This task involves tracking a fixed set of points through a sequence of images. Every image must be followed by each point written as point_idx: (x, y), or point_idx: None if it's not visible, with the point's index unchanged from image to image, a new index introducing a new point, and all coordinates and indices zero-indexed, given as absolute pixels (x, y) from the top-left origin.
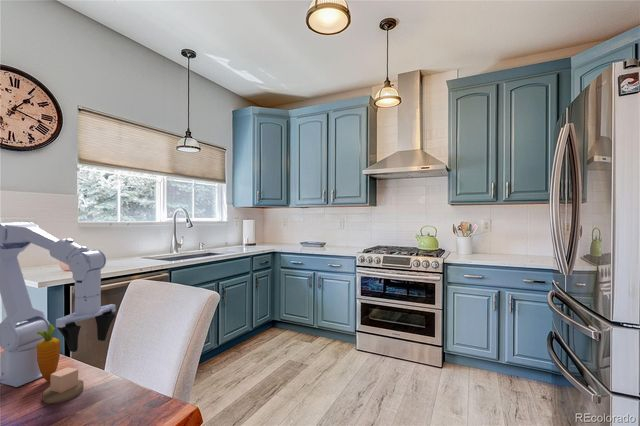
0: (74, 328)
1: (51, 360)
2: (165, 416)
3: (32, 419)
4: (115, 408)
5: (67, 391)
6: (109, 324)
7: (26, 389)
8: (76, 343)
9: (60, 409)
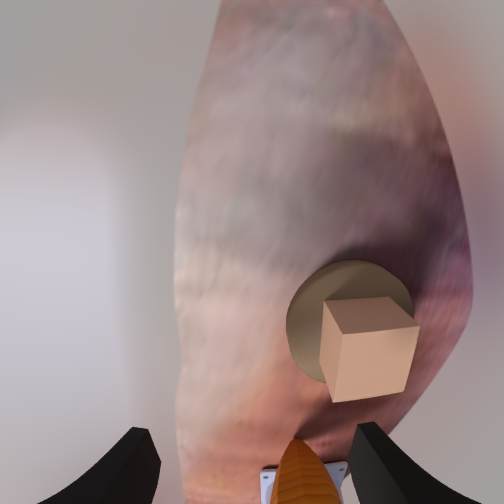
0: None
1: (315, 483)
2: None
3: (466, 246)
4: (344, 32)
5: (374, 285)
6: (58, 502)
7: (348, 438)
8: (393, 458)
9: (419, 219)
